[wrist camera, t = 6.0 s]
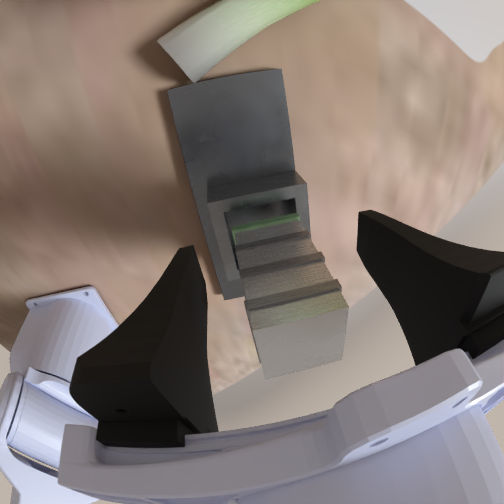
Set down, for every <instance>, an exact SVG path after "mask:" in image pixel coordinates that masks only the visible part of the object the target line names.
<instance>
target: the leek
mask: <svg viewBox="0 0 504 504" xmlns="http://www.w3.org/2000/svg"><path fill="white" fill-rule="evenodd" d="M318 1H320V0H220V1H218V2H216V3H214V4H213V5H211V6H209V7H207V8H205V9H204V10H202V11H200V12H199V13H197V14H195V15H194V16H192V17H190V18H189V19H187V20H186V21H184V22H183V23H181V24H179V25H178V26H176V27H175V28H173V29H172V30H171V31H169V32H168V33H166V34H165V35H163V36H162V37H161V38H159V39H158V40H157V42H158V43H159V44H160V45H161V46H162V47H163V49H164V50H165V51H166V52H167V53H168V54H169V55H170V56H171V57H172V58H173V59H174V61H175V62H176V63H177V64H178V65H179V66H180V68H181V69H182V70H183V71H184V72H185V74H186V75H187V76H188V77H189V78H190V79H191V81H192V82H193V83H196V82H197V81H198V80H199V79H200V78H201V77H202V76H204V75H205V74H206V73H207V72H208V71H209V70H211V69H212V68H213V67H214V66H215V65H216V64H218V63H219V62H220V61H221V60H223V59H224V58H225V57H226V56H228V55H229V54H230V53H231V52H233V51H234V50H235V49H237V48H238V47H239V46H241V45H242V44H243V43H245V42H246V41H247V40H249V39H250V38H251V37H253V36H254V35H256V34H257V33H258V32H260V31H261V30H263V29H264V28H266V27H267V26H269V25H271V24H273V23H275V22H277V21H278V20H280V19H282V18H284V17H286V16H288V15H290V14H292V13H294V12H296V11H298V10H300V9H302V8H304V7H307V6H309V5H311V4H313V3H315V2H318Z"/></svg>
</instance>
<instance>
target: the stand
mask: <svg viewBox="0 0 504 504" xmlns="http://www.w3.org/2000/svg"><path fill="white" fill-rule="evenodd" d="M167 92H168V96H169V101H170V105H171V109H172V114H173V118H174V122H175V126H176V130H177V134H178V138H179V142H180V146H181V150H182V154H183V158H184V162H185V166H186V169H187V173H188V177H189V181H190V184H191V188H192V192H193V195H194V199H195V203H196V206H197V210H198V213H199V217H200V221H201V224H202V228H203V231H204V234H205V238H206V241H207V245H208V248H209V251H210V255H211V258H212V261H213V265H214V268H215V271H216V275H217V278H218V281H219V284H220V288H221V291H222V294H223V297H224V300H228V299H233V298H238V297H243V296H245V295H244V291H243V287H242V283H241V279H240V275H239V270H240V268H239V264H238V260H237V256H236V252H235V242H234V238H233V233H232V228H231V226H236V225H240V224H245V223H250V222H254V221H259V220H264V219H269V218H273V217H278V216H283V215H288V214H293V213H298V215H299V216H300V223H301V224H302V226H303V228H304V229H305V230H308V231H309V233H310V219H309V205H308V192H307V183H306V182H305V181H304V180H303V179H302V177H301V176H300V175H299V174H298V173H297V172H296V171H295V164H294V155H293V147H292V139H291V131H290V123H289V116H288V109H287V102H286V95H285V88H284V82H283V76H282V69H274V70H265V71H257V72H250V73H244V74H238V75H232V76H226V77H221V78H216V79H211V80H206V81H202V82H197V83H193V84H189V85H185V86H181V87H177V88H173V89H170V90H167Z"/></svg>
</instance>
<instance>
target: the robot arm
mask: <svg viewBox="0 0 504 504" xmlns="http://www.w3.org/2000/svg"><path fill="white" fill-rule="evenodd" d="M357 252H358V254H359V256H360V258H361V260H362V262H363V264H364V266H365V268H366V269H367V271H368V272H369V274H370V275H371V277H372V278H373V280H374V281H375V283H376V284H377V286H378V287H379V289H380V290H381V291H382V293H383V295H384V296H385V298H386V299H387V300H388V302H389V304H390V305H391V307H392V309H393V310H394V313H395V315H396V317H397V319H398V321H399V323H400V325H401V327H402V330H403V332H404V334H405V337H406V339H407V342H408V345H409V347H410V350H411V353H412V356H413V359H414V362H415V365H416V366H414V367H412V368H410V369H408V370H405V371H403V372H400V373H398V374H395V375H393V376H390V377H388V378H385V379H382V380H380V381H377V382H375V383H372V384H369V385H367V386H365V387H363V388H360V389H358V390H356V391H354V392H352V393H350V394H348V395H347V396H346V397H344V398H343V399H341V400H340V401H338V402H337V403H336V404H335V405H334V406H333V408H332V409H329V410H325V411H321V412H318V413H314V414H310V415H307V416H302V417H298V418H294V419H290V420H285V421H281V422H276V423H272V424H266V425H261V426H255V427H249V428H243V429H236V430H229V431H222V432H219V431H218V426H217V421H216V415H215V410H214V404H213V398H212V391H211V384H210V376H209V368H208V359H207V310H208V302H207V292H206V283H205V280H204V277H203V274H202V271H201V268H200V264H199V261H198V258H197V255H196V252H195V249H194V246H193V245H192V246H188V247H183V248H179V250H178V251H177V253H176V254H175V256H174V257H173V259H172V261H171V262H170V264H169V265H168V267H167V269H166V270H165V272H164V273H163V275H162V276H161V278H160V279H159V281H158V282H157V283H156V285H155V286H154V287H153V289H152V290H151V292H150V293H149V294H148V296H147V297H146V298H145V299H144V301H143V302H142V303H141V304H140V305H139V306H138V307H137V309H136V310H135V311H134V312H133V313H132V314H131V315H130V316H129V317H128V318H127V319H126V320H125V321H124V322H123V323H122V324H121V325H120V326H118V324H117V323H116V321H115V320H114V318H113V317H112V315H111V313H110V312H109V310H108V309H107V307H106V306H105V304H104V302H103V301H102V299H101V298H100V296H99V294H98V293H97V291H96V289H95V288H94V287H91V286H88V287H84V288H79V289H75V290H70V291H65V292H61V293H56V294H52V295H47V296H43V297H38V298H34V299H29V300H27V302H26V305H27V307H28V308H29V310H30V311H29V313H28V315H27V317H26V319H25V321H24V323H23V325H22V327H21V329H20V331H19V334H18V336H17V338H16V340H15V343H14V345H13V347H12V350H11V354H10V370H11V373H9V374H8V375H7V377H6V378H5V380H4V382H3V385H2V387H1V389H0V471H1V472H2V473H3V475H4V476H5V477H6V478H7V480H8V481H9V482H10V484H11V485H12V486H13V487H12V495H11V503H10V504H90V503H93V502H95V501H97V500H99V499H100V500H105V501H111V502H117V503H123V504H504V455H503V453H502V451H501V449H500V447H499V444H498V442H497V440H496V438H495V435H494V433H493V431H492V429H491V427H490V425H489V423H488V421H487V419H486V417H485V414H486V413H487V412H489V411H490V410H491V409H493V408H494V407H495V406H496V405H497V404H499V403H500V402H501V401H502V400H504V252H499V251H490V250H483V249H478V248H473V247H468V246H464V245H461V244H456V243H453V242H450V241H447V240H443V239H441V238H438V237H435V236H432V235H430V234H427V233H425V232H422V231H420V230H417V229H415V228H413V227H411V226H408V225H406V224H404V223H402V222H399V221H397V220H395V219H393V218H390V217H388V216H386V215H384V214H381V213H379V212H376V211H373V210H367V211H361V212H359V215H358V236H357ZM86 292H87V293H86ZM7 445H9V446H10V447H12V448H14V449H16V450H18V451H20V452H22V453H23V454H26V455H28V456H29V457H32V458H34V459H36V460H38V461H40V462H42V463H45V464H47V465H49V466H52V467H54V468H57V469H59V471H55V470H53V469H50V468H48V467H46V466H43V465H41V464H39V463H36V462H34V461H32V460H30V459H28V458H26V457H24V456H22V455H20V454H18V453H16V452H14V451H13V450H12V449H10V448H9V447H8V446H7Z"/></svg>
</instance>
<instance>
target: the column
mask: <svg viewBox="0 0 504 504" xmlns="http://www.w3.org/2000/svg"><path fill="white" fill-rule="evenodd" d="M231 228H232V233H233V238H234V242H235V252H236V256H237V260H238V264H239V268H240V270H239V275H240V279H241V283H242V287H243V291H244V295H245V299H246V300H245V301H244V303H245V308H246V312H247V316H248V320H249V324H250V328H251V332H252V335H253V339H254V343H255V347H256V350H257V354H258V358H259V361H260V363H261V364H262V368H263V372H264V375H265V379H269V378H273V377H278V376H282V375H286V374H290V373H294V372H298V371H302V370H306V369H310V368H314V367H317V366H321V365H324V364H328V363H331V362H335V361H338V360H341V359H342V356H343V349H344V342H345V334H346V326H347V318H348V309H349V306H348V305H347V303H346V301H345V299H344V297H343V295H342V294H341V288H342V287H341V285H340V283H339V281H338V280H337V279H335V280H334V279H333V277H332V276H331V274H330V272H329V270H328V269H327V267H326V265H325V257H324V256H323V254H322V252H318V251H317V249H316V248H315V246H314V244H313V243H312V241H311V234H310V233H309V231H308V230H305V229H304V228H303V226H302V224H301V223H300V216H299V215H298V213H293V214H288V215H283V216H278V217H273V218H269V219H264V220H259V221H254V222H250V223H245V224H240V225H236V226H231Z"/></svg>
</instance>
